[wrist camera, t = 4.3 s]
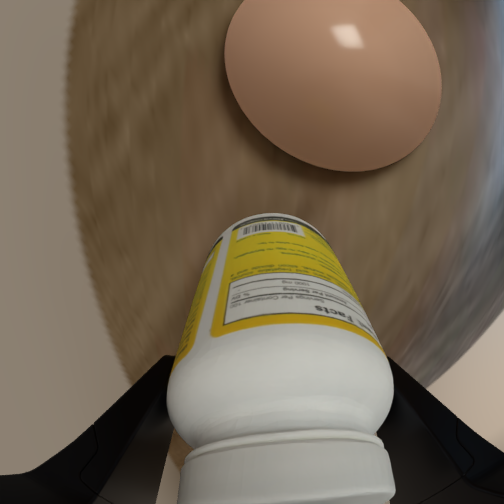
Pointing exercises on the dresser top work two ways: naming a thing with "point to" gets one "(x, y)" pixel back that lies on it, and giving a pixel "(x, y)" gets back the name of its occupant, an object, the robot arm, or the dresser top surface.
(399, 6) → the tan round disc
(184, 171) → the dresser top surface
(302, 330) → the pill bottle
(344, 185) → the dresser top surface
